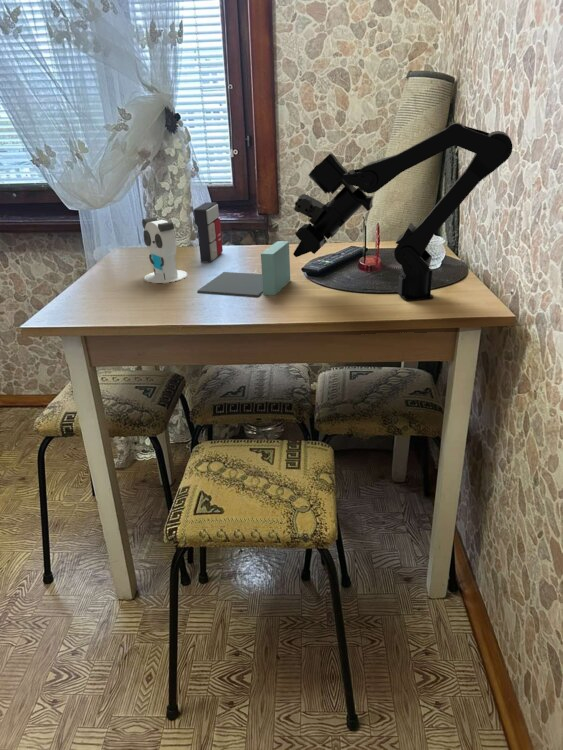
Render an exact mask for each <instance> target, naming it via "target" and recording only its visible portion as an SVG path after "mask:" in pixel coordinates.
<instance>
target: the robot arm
mask: <svg viewBox="0 0 563 750" xmlns="http://www.w3.org/2000/svg"><path fill="white" fill-rule="evenodd" d="M452 147H459V148H461V149H464V150H465V151H468V152H471V153H472V154H474V155H473V157H472V159H470V162H469V164H468V165H467V167H466V169H465V170H464V171H463V172H462V173H461V175H460V176H459V177H458V178H457V179H456V180H455V181H454V183H453V184H452V186H451V187H450V188H449V189H448V190H447V191H446V192H445V194H444V195H443V196H442V197H441V198H440V200H438V201H437V203H436V204H435V205H434V207H432V209H431V210H430V212H429V213H428V214H427V215H426V216H425V217H424V218H423V220H422V221H420V222H419V223H418V224H416V225H414V224H413V222H410V223H409V225H408V226H407V228H406V230H405V231H404V232H403V233H401V234H399V236H398V238H397V239H396V240H395V241H396V242H395V245H396V244H397V245H396V247H395V249H394V253H393V254H394V258H395V261H396V262H397V263H398V264H399V265H401V268H400V269H401V270H400V274H399V275H398V280H397V281H398V282H397V283H398V284H397V285H398V287H397V293H398V295H399V296H401V297H402V298H403V299H404V301H406V302H407V301H408V302H409V301H418V300H420V301H421V300H430V299H432V300H433V299H434V295H433V294H431V293H432V283H433V269H432V268H430V266H431V262H432V259H433V255H431V253H430V252H429V251H428V250H426V249H427V248H428V245H429V243H430V242H431V240H432V239H433V237H434V235H436V232H438V231H439V229H440V228H441V227H442V226H443V225H444V223H445V222H446V221H447V220H448V219H449V218H450V216H452V214H453V213H454V212H455V211H456V210H457V209H458V207H459V206H460V205H461V204H462V203H463V202H464V200H466V198H467V197H468V196H469V195H470V193H472V191H473V190H474V189H475V188H476V187H477V185H478V184H479V183H480V182H481V181H482V180H484V179H485V178H486V177H488V176H489V175H490V174H492V173H493V172H494V171H496V170H497V169H498V168H500V166H501V165H503V164H504V163H505V162H506V161H507V160H508V159H509V158H510V157H511V155H512V152H513V143H512V140H511V137H510V136H509V135H508V133H507V132H505V131H503V130H497V131H491V132H487V131H484V130H482V129H477V128H474V127H470V126H466V125H464V124H463V123H461V122H454V123H451V124H449V126H447V127H446V128H444V129H442V130H440V131H438V132H436V133H435V134H432V135H431V136H429V137H427V138H425V139H423V140H421V141H419V142H417V143H416V144H414V145H412V146H410V147H408V148H406V149H404V150H403V151H401V152H399V153H396V154H393V155H391V156H386V157H383V158H381V159H377V160H375V161H372V162H369V163H367V164H366V165H364V166H363V167H362V168H356V169H354V168H352V169H349V170H347V169H346V168H345V167H344V166H343V164H342V163H340V161H339V160H338V159H337V157H336V155H334V153H332V152H331V153H330V154H328V155H327V156H326V157H325V158H324V159H323V160H322V161H321V162H319V163H318V164H316V165H315V166H314V167H313V169H312V170H311V171H310V172H309V173H308V177H309V178H310V179H311V180H312V181H313V182H314V183H315V184H316V185H317V187H319V188H320V190H322V192H323V193H324V194H325V195H327V194H328V195H329V194H331V195H334V194H335V193H336V192H337V191H338V190H339V189H340V188H341V187H342V186H344V187H343V188H342V189H341V190H340V191H339V192H337V194H336V195H334V197H333V198H332V199H331V200H329V201H328V202H326V203H323V202H321V201H320V200H318V199H316V198H314V197H312V196H310V195H308V194H306V193H302V194H301V195H299V196H298V198H297V201H295V202H294V207H293V211H295V212H297V213H300V214H302V215H304V216H306V217H308V218H310V219H309V220H308V221H309V223H308V224H307V223H305V224H304V225H302V226H301V227H299V229H297V231H295V234H294V235H295V236H296V238H297V239H298V240H299V243H298V245H297V246H296V248H295V250H294V251H293V253H292V254H293V256H294V257H295V258H298V257H300V256H304V255H305V254H308V253H312V254H314V255H316V253H318V251H320V249H322V248H323V246H324V245H325V244H326V243H327V240H329V239H330V238H333V237H334V236H335V235H336V234H337V233H338V232H339V231H340V229H341V228H342V226H343V225H345V224H346V223H347V221H349V219H350V218H351V217H352V216H354V215H355V213H357V212H358V210H360V209H361V208H362V207H363V208H364V209H365V210H366V211H367V212H369V211H370V210H371V209H373V206H374V205H373V199H374V196H373V195H367V194H374V193H376V192H378V191H379V190H380V189H382V188H383V187H384V186H386V185H387V184H388V183H390V182H391V181H392V180H394V179H395V178H396V177H397V176H399V175H400V174H402V173H403V172H405V171H406V170H409V169H411V168H413V167H415V166H417V165H418V164H420V163H422V162H424V161H427V160H428V159H430V158H432V157H435V156H436V155H438V154H441V153H442V152H444V151H446V150H448V149H450V148H452ZM356 187H357V188H356ZM326 239H327V240H326Z"/></svg>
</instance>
